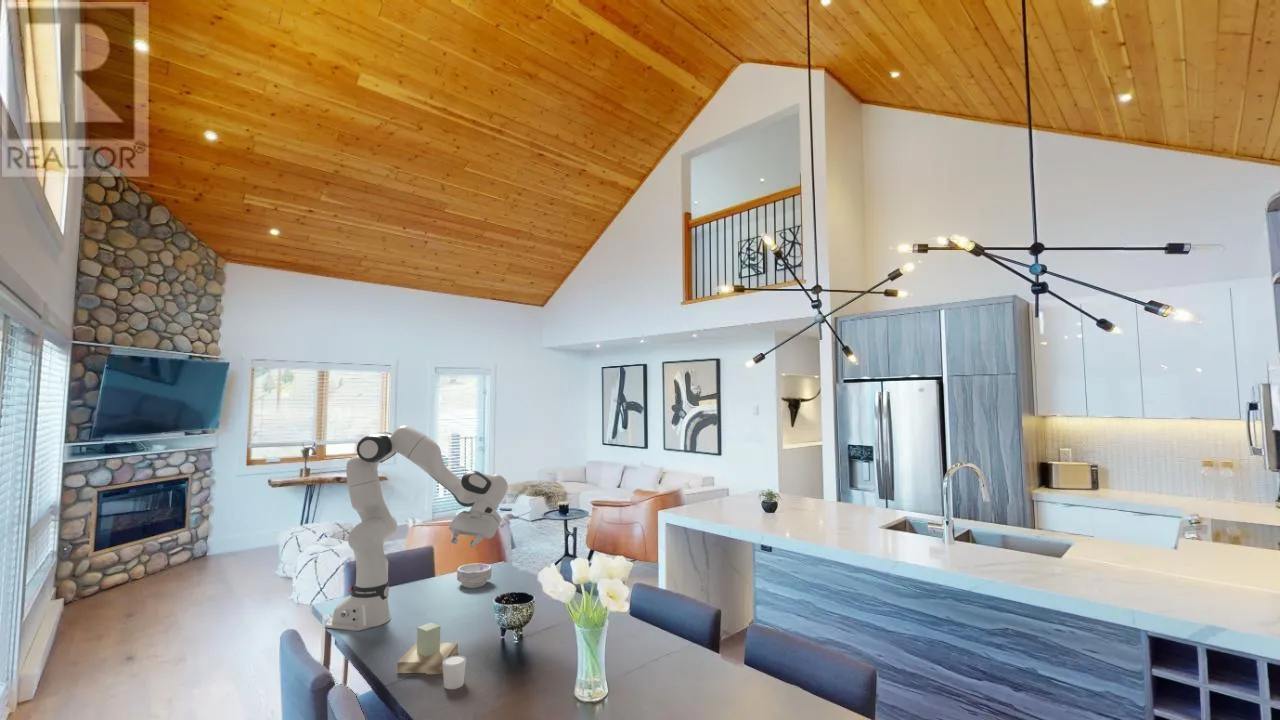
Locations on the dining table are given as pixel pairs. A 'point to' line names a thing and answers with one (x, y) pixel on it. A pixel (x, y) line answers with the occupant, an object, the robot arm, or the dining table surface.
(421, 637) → the sage block
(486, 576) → the light grey bowl
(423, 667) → the block
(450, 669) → the shot glass
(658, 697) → the dining table surface
